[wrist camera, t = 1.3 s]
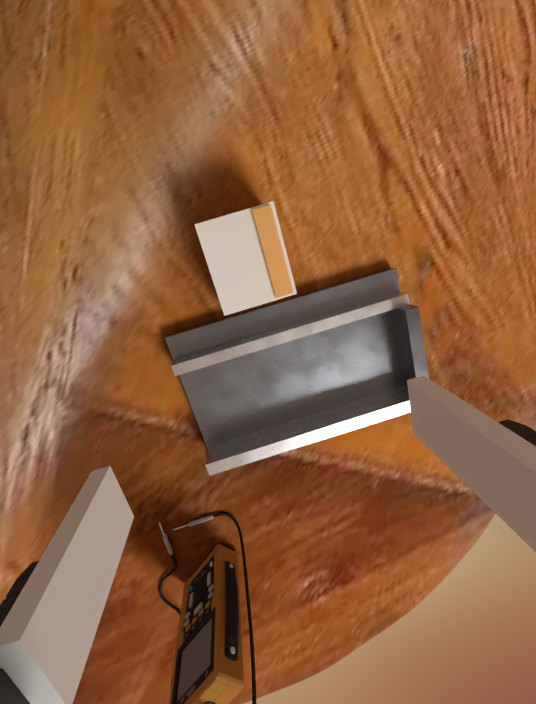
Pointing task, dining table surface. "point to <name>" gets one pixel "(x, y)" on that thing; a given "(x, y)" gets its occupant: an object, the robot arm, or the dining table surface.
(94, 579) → the robot arm
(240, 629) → the multimeter
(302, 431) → the rail base
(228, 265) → the block
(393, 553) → the dining table surface
